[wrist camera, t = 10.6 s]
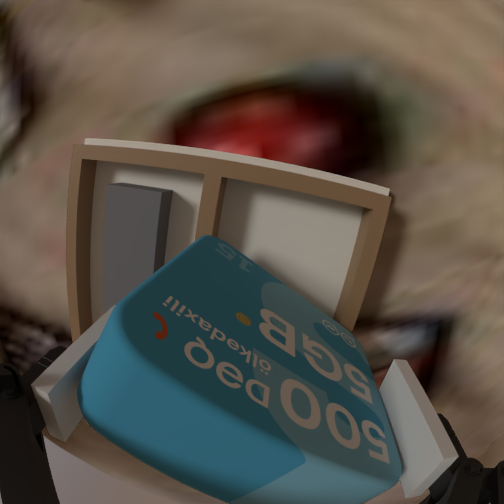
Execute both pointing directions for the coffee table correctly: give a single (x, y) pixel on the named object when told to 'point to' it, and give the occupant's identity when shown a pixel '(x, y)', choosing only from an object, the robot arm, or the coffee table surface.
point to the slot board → (231, 220)
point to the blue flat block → (239, 387)
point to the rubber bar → (133, 237)
